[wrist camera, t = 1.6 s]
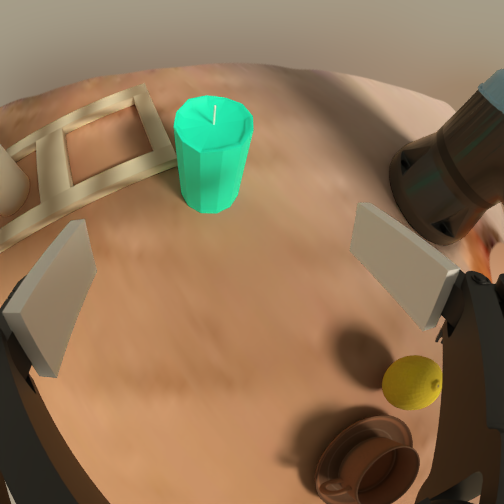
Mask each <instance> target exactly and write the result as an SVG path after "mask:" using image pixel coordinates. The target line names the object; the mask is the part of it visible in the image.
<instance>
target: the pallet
mask: <svg viewBox="0 0 504 504" xmlns="http://www.w3.org/2000/svg"><path fill="white" fill-rule="evenodd" d="M132 105H135V106H136V108H137V111H138V114H139V116H140V119H141V122H142V124H143V127H144V130H145V132H146V135H147V137H148V140H149V142H150V145H151V148H152V150H153V151H152V152H149V153H147V154H144V155H142V156H139V157H137V158H134V159H132V160H129V161H127V162H125V163H122V164H120V165H118V166H115V167H113V168H111V169H109V170H106V171H104V172H102V173H100V174H98V175H95V176H93V177H91V178H89V179H87V180H85V181H83V182H81V183H79V184H77V185H75V186H73V180H72V175H71V169H70V163H69V157H68V150H67V142H66V134H67V133H69V132H71V131H73V130H75V129H77V128H80V127H82V126H84V125H86V124H88V123H90V122H93V121H95V120H97V119H99V118H102V117H104V116H107V115H109V114H111V113H114V112H116V111H119V110H121V109H124V108H127V107H129V106H132ZM34 151H36V158H37V173H38V184H39V194H40V202H41V204H39V205H38V206H36V207H34V208H32V209H31V210H29V211H27V212H26V213H24V214H22V215H21V216H19V217H18V218H16V219H14V220H13V221H11V222H10V223H8V224H6V225H5V226H3V227H2V228H0V253H1V252H3V251H4V250H6V249H8V248H9V247H11V246H12V245H14V244H16V243H17V242H19V241H21V240H22V239H24V238H26V237H27V236H29V235H31V234H33V233H34V232H36V231H38V230H40V229H41V228H43V227H45V226H47V225H49V224H50V223H52V222H54V221H56V220H58V219H60V218H62V217H64V216H66V215H67V214H69V213H71V212H73V211H75V210H77V209H79V208H81V207H83V206H85V205H87V204H89V203H91V202H94V201H96V200H98V199H100V198H102V197H104V196H106V195H108V194H111V193H113V192H115V191H117V190H120V189H122V188H124V187H126V186H129V185H131V184H133V183H136V182H138V181H140V180H143V179H145V178H148V177H150V176H153V175H155V174H158V173H160V172H163V171H165V170H168V169H170V168H173V167H176V166H178V163H177V155H176V153H175V151H174V149H173V146H172V144H171V142H170V140H169V137H168V135H167V133H166V131H165V129H164V126H163V124H162V122H161V120H160V117H159V115H158V113H157V110H156V108H155V106H154V104H153V101H152V99H151V97H150V94H149V92H148V90H147V87H146V85H145V83H144V84H141V85H138V86H135V87H132V88H129V89H126V90H124V91H121V92H118V93H116V94H113V95H110V96H108V97H105V98H103V99H101V100H98V101H96V102H94V103H91V104H89V105H87V106H84V107H82V108H80V109H78V110H76V111H74V112H72V113H69V114H67V115H65V116H63V117H61V118H59V119H57V120H56V121H54V122H52V123H50V124H48V125H46V126H44V127H43V128H41V129H39V130H37V131H35V132H34V133H32V134H30V135H29V136H27V137H25V138H24V139H22V140H20V141H19V142H17V143H15V144H14V145H12V146H11V147H9V148H8V149H6V152H7V153H8V154H9V155H10V157H11V158H12V159H13V160H14V161H15V163H16V162H17V161H19V160H21V159H22V158H24V157H25V156H27V155H29V154H30V153H32V152H34Z"/></svg>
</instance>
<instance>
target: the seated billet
mask: <svg viewBox="0 0 504 504" xmlns="http://www.w3.org/2000/svg"><path fill="white" fill-rule="evenodd" d="M29 190H30V181H29V178H28V176H27V175H26V174H25V173H24V172H23V171H22V170H21V168H20V167H19V166H18V165H17V164H16V163H15V161H14V160H13V159H12V158H11V157H10V155H9V154H8V153H7V152H6V150H5V149H4V148H3V147H2V146H1V144H0V215H2V216H10V215H13V214H14V213H16V212H17V211H18V210H19V209H20V208H21V207H22V205H23V204H24V202H25V201H26V199H27V196H28V194H29Z"/></svg>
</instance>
